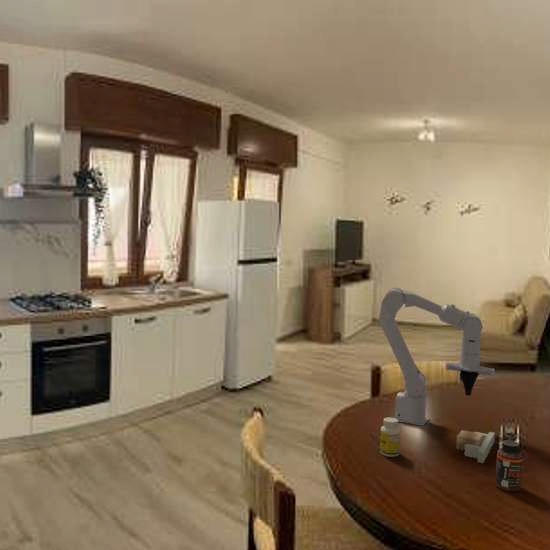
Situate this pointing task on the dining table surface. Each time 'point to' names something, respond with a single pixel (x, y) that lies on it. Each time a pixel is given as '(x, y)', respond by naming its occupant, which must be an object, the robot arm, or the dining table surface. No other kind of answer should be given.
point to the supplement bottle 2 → (509, 466)
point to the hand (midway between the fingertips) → (468, 394)
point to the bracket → (484, 449)
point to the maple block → (468, 439)
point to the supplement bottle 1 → (390, 438)
